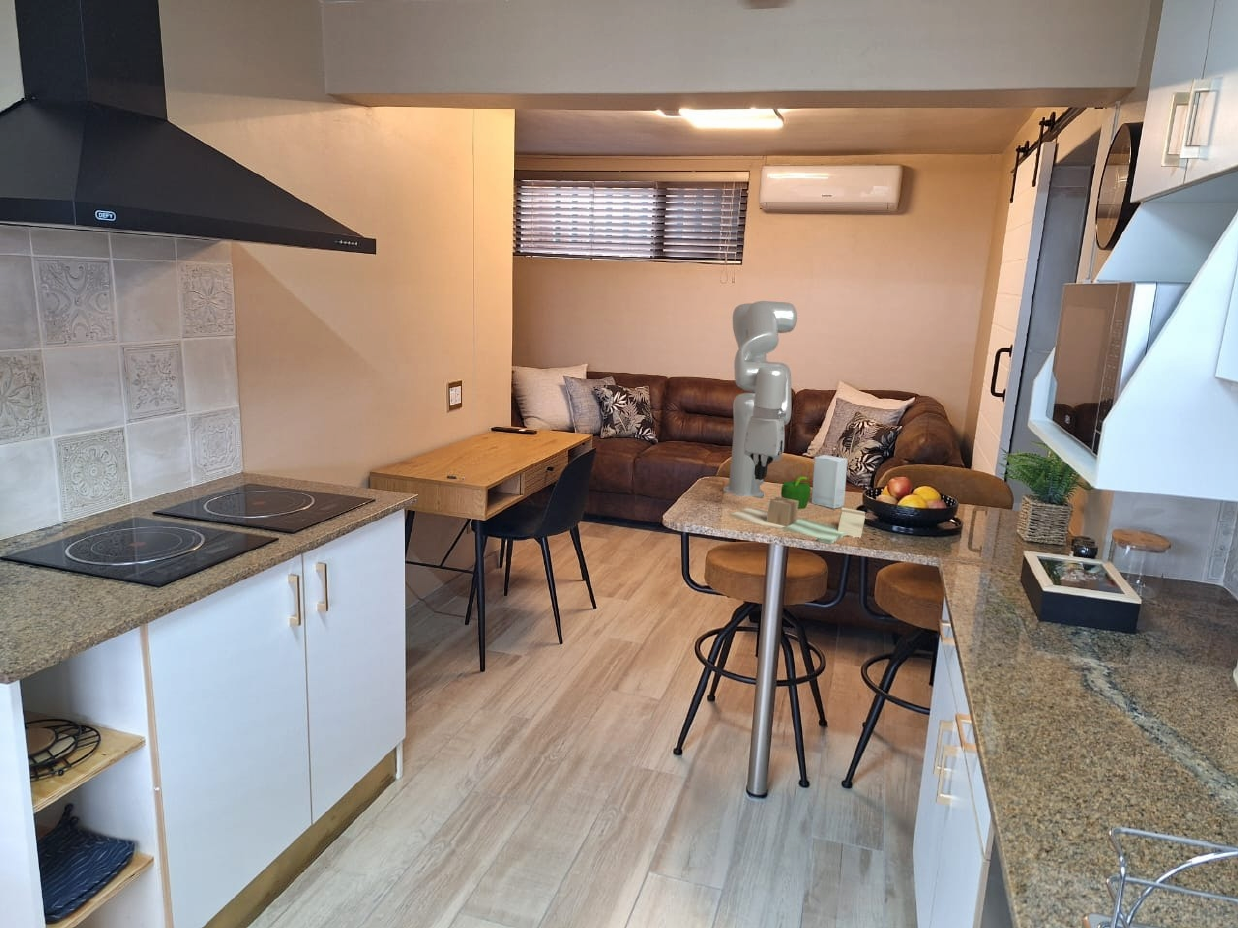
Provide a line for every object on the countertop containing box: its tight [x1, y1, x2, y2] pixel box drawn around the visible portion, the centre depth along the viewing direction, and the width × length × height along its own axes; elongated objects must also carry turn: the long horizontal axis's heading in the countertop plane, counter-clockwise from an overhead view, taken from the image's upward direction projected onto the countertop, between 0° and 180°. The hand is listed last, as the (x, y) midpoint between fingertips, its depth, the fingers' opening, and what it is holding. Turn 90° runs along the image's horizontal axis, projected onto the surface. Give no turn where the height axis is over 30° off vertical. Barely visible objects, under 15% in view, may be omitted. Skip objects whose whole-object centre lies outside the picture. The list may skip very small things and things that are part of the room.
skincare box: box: [811, 454, 848, 509], centre depth 245 cm, size 8×6×15 cm
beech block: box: [837, 507, 866, 539], centre depth 217 cm, size 6×6×6 cm
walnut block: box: [767, 496, 799, 526], centre depth 221 cm, size 6×6×6 cm
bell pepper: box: [780, 476, 812, 510], centre depth 238 cm, size 8×8×10 cm
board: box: [726, 506, 846, 545], centre depth 221 cm, size 14×30×1 cm, turn 55°
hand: (760, 478), depth 224 cm, fingers closed
